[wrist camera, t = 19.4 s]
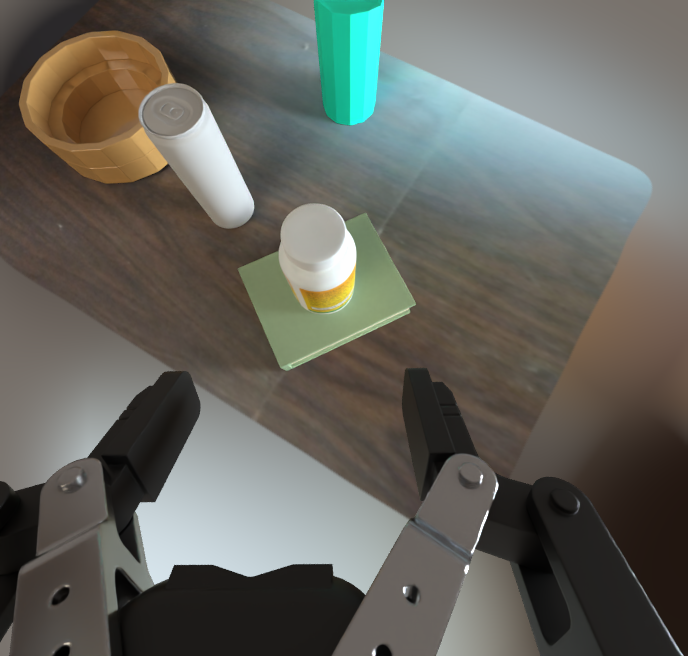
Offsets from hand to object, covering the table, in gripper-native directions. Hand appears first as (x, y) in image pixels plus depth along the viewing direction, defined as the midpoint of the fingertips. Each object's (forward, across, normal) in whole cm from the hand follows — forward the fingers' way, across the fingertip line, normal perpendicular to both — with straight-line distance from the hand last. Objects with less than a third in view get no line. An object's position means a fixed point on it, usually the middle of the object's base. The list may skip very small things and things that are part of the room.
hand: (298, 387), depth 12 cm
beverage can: (+26, +10, -1) cm, 28 cm away
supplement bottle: (+17, 0, +4) cm, 18 cm away
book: (+19, 0, +6) cm, 20 cm away
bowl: (+34, +23, -9) cm, 41 cm away
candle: (+36, -2, -10) cm, 37 cm away
